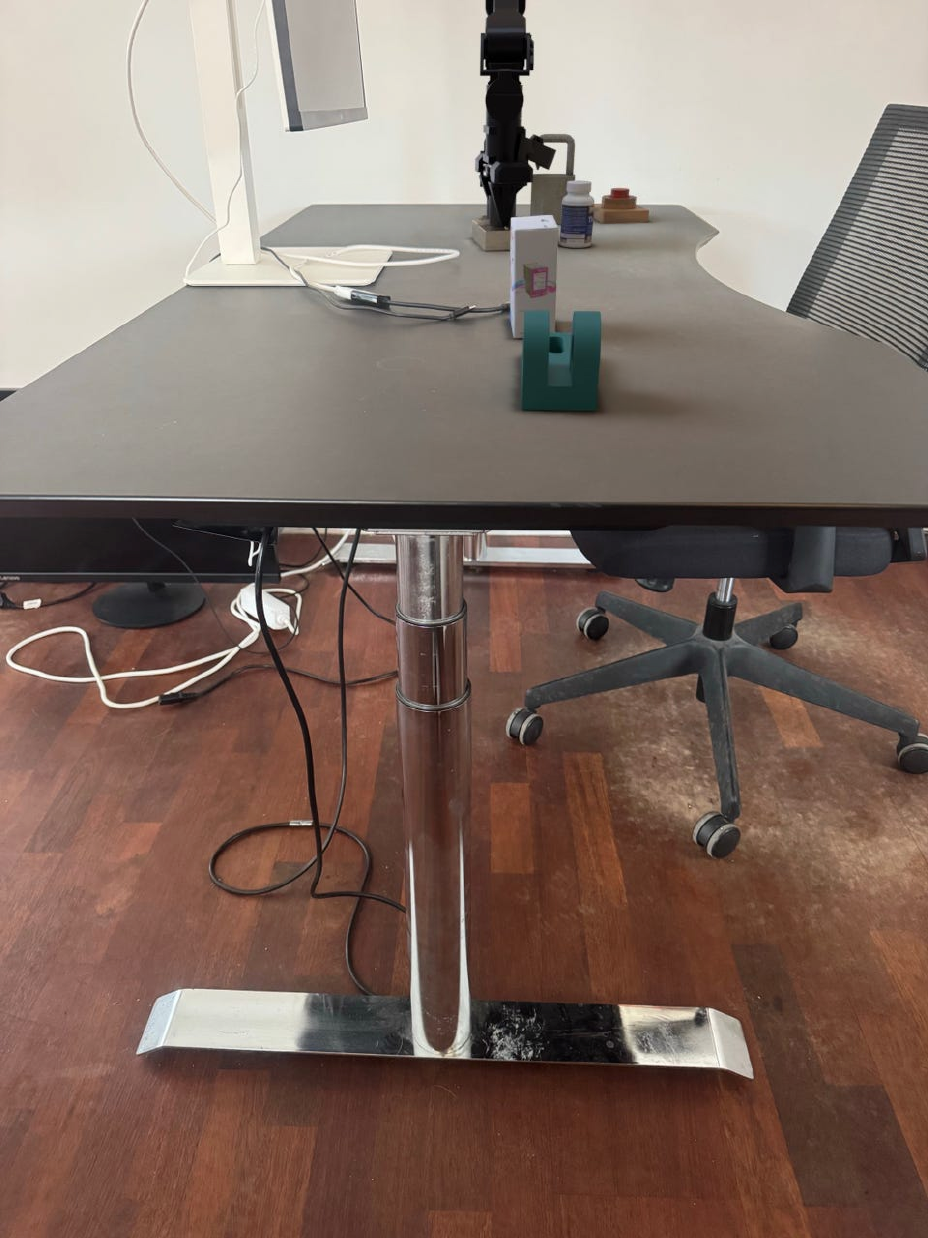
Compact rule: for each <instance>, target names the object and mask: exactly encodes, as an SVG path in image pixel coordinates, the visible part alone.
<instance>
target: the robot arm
mask: <svg viewBox="0 0 928 1238" xmlns="http://www.w3.org/2000/svg"><path fill="white" fill-rule="evenodd" d="M484 2H485V3H484V5H485V7H484V8H485V14H486V17H485V27H484V28H485V29H484V32H480V48H479V49H480V52H479V76H480V77H489V80H488V82H487V84H486V85H485V86H486V87H485V97H484V98H485V100H484V102H485V103H484V104H485V124H483V126H482V127H483V128H482V129H483V131H482V132H483V133H484V134H485V139H484V141H483V150H480V152H479V154H478V155H477V156H476V158H475V159H474V171H475V172H476V173H479V175H478V179H479V187H480V188H483V191H484V194H485V197H486V215H481V216H482V217H481V218H482V220H489V195H491V194H492V197H493V200H494V204H495V207H496V211H497V214H498V217H499V221H500V224H501V227H508V225H509V221H510V217H511V214H512V210H513V206H514V202H515V217H518V216H517V195H518V194H519V192H520V191H521V190H522V189H523V188H524V187H528V184H531V182H533V174H534V167H532V166H531V165H530V163H529V162H532V163H534V164H535V163H536V165H538V166H540V168H542V169H545V170H547V171H550V169H551V166H552V163H553V161H554V158H555V155H556V152H557V149H556V148H553V147H551V146H548V145H545V143H544V140H543V138H542V137H539V136H540V135H537V134H532V135H531V136H530V137H527V129H526V128H525V126H523V125H522V120H523V119H522V117H523V107H524V101H525V99H524V98H525V97H524V93H523V89H524V87H523V84H522V82H521V80H520V77H530V76H531V71H534V69H535V68H534V67H535V66H534V65H535V40H533V38H532V34H531V32H527V19H526V17H525V16H524V14H525V13H526V9H527V8H526V7H527V6H526V5H527V0H484ZM524 68H525V69H524ZM536 165H535V166H536Z"/></svg>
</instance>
